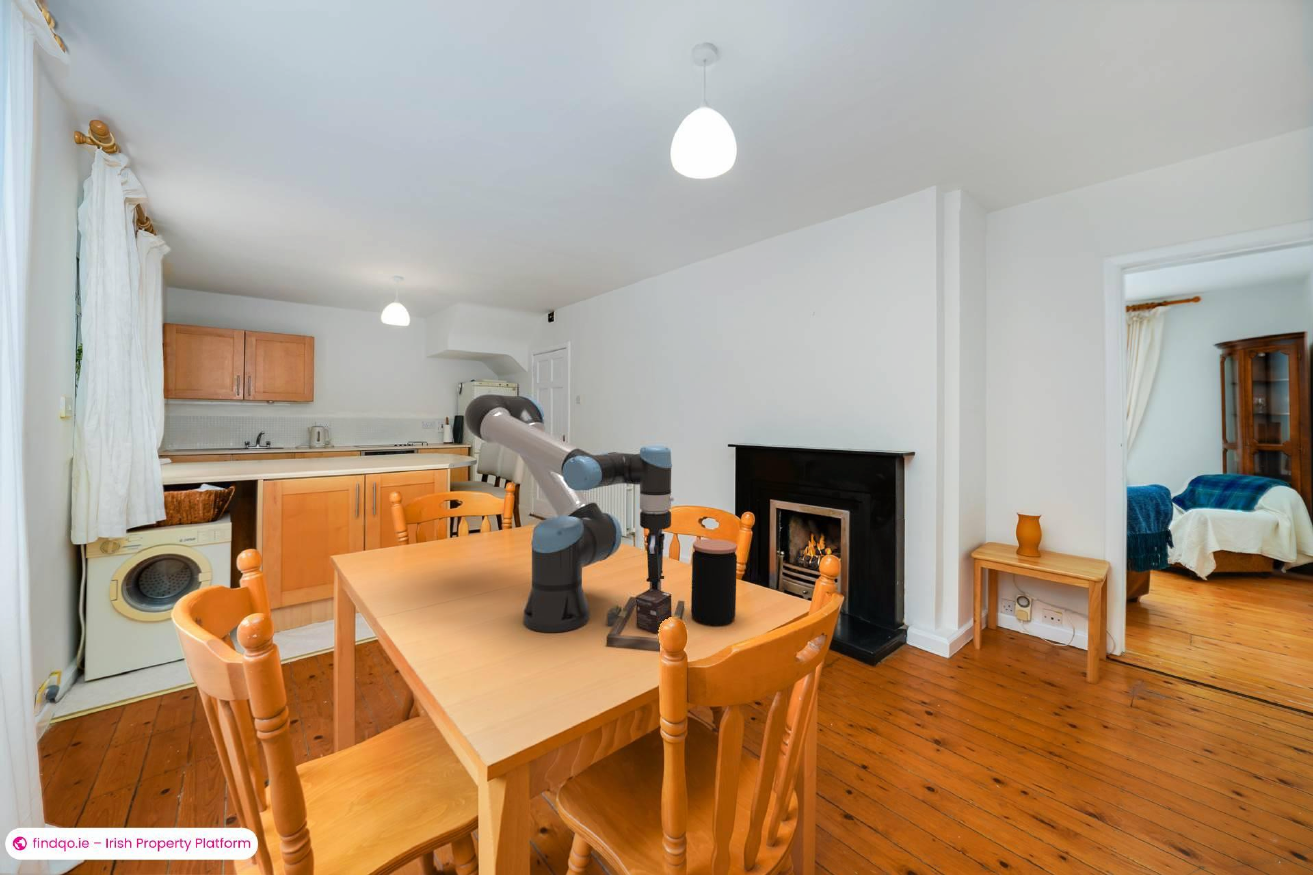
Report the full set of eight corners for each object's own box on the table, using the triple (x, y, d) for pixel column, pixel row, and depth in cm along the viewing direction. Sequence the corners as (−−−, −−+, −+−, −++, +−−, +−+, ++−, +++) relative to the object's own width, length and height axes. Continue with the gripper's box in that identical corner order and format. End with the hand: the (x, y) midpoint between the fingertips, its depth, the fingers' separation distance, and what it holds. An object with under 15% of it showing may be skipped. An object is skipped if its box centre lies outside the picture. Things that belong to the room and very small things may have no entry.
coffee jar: (740, 614, 123) (742, 542, 122) (727, 630, 113) (729, 552, 113) (699, 606, 127) (701, 537, 127) (684, 621, 118) (686, 546, 117)
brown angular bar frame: (594, 644, 104) (595, 627, 104) (620, 603, 128) (620, 589, 128) (672, 652, 102) (673, 633, 102) (684, 608, 126) (684, 593, 125)
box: (635, 626, 114) (634, 596, 113) (652, 616, 119) (651, 587, 118) (656, 634, 110) (655, 602, 110) (672, 623, 115) (671, 593, 114)
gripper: (668, 516, 112) (667, 618, 114) (674, 506, 125) (673, 597, 126) (635, 515, 113) (635, 616, 115) (644, 505, 126) (644, 596, 127)
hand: (655, 606), depth 120 cm, fingers closed
